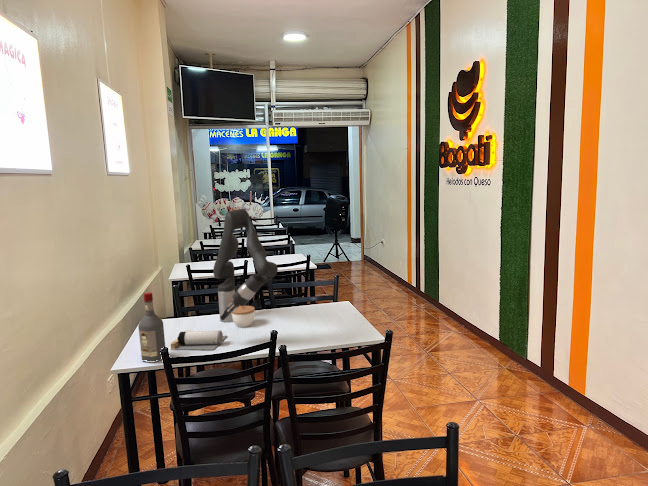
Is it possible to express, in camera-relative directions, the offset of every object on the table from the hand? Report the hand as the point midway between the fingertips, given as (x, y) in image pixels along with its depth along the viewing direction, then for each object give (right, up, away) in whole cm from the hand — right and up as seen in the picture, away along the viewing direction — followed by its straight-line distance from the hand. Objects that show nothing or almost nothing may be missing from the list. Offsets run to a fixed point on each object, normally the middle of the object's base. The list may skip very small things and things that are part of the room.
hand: (221, 318), depth 210 cm
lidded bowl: (+5, -9, +29) cm, 31 cm away
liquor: (-28, -16, -12) cm, 34 cm away
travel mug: (0, -9, +1) cm, 9 cm away
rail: (-21, -13, +6) cm, 26 cm away
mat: (-11, -13, +5) cm, 17 cm away
